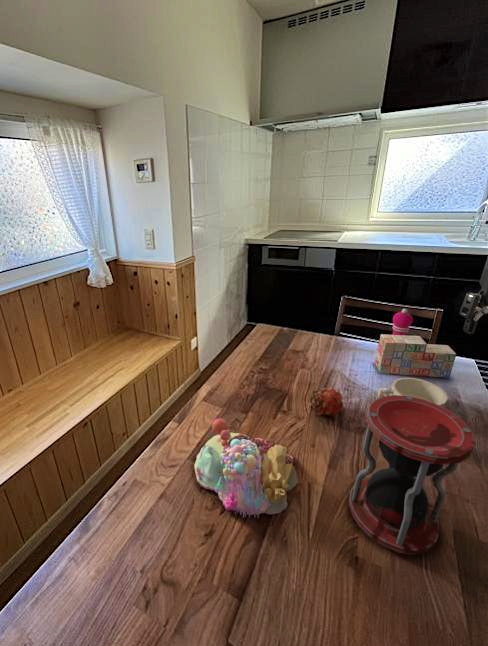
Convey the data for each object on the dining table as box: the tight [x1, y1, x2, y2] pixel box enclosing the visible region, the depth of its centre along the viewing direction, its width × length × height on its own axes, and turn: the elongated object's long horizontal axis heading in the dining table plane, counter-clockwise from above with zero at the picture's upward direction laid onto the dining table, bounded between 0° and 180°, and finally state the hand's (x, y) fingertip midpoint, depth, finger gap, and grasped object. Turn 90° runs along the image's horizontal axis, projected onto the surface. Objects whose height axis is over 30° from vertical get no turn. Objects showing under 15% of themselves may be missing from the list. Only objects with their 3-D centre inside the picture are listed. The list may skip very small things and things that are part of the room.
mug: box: [376, 376, 449, 409], centre depth 100 cm, size 17×14×6 cm
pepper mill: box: [391, 308, 414, 335], centre depth 121 cm, size 7×7×20 cm
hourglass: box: [348, 395, 476, 556], centre depth 65 cm, size 16×16×25 cm
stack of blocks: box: [374, 333, 457, 379], centre depth 115 cm, size 21×6×12 cm, turn 76°
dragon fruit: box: [309, 387, 344, 418], centre depth 99 cm, size 8×8×12 cm
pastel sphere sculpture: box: [193, 418, 299, 519], centre depth 80 cm, size 25×24×9 cm
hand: (484, 331), depth 83 cm, fingers open, 8 cm apart
